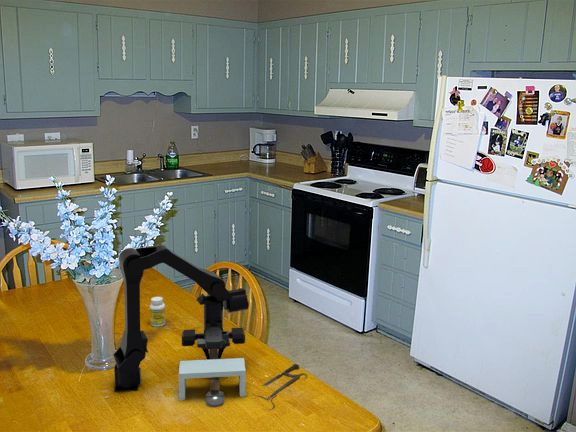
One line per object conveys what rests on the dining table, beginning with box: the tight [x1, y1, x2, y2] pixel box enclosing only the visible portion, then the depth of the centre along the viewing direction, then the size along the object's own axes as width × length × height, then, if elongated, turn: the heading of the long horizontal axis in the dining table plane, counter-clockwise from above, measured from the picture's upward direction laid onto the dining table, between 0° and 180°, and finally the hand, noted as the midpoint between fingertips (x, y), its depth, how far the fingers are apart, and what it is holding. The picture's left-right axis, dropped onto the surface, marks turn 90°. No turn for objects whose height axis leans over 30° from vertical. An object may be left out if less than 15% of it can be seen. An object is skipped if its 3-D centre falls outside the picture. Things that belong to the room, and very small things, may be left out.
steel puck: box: [205, 390, 225, 408], centre depth 149 cm, size 5×5×2 cm
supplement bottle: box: [149, 296, 167, 328], centre depth 194 cm, size 5×5×10 cm
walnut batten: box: [209, 349, 220, 392], centre depth 161 cm, size 2×20×5 cm, turn 8°
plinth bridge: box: [178, 357, 246, 401], centre depth 153 cm, size 18×7×8 cm, turn 98°
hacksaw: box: [252, 363, 308, 411], centre depth 157 cm, size 24×10×2 cm, turn 140°
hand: (213, 362), depth 167 cm, fingers closed on walnut batten, 2 cm apart
